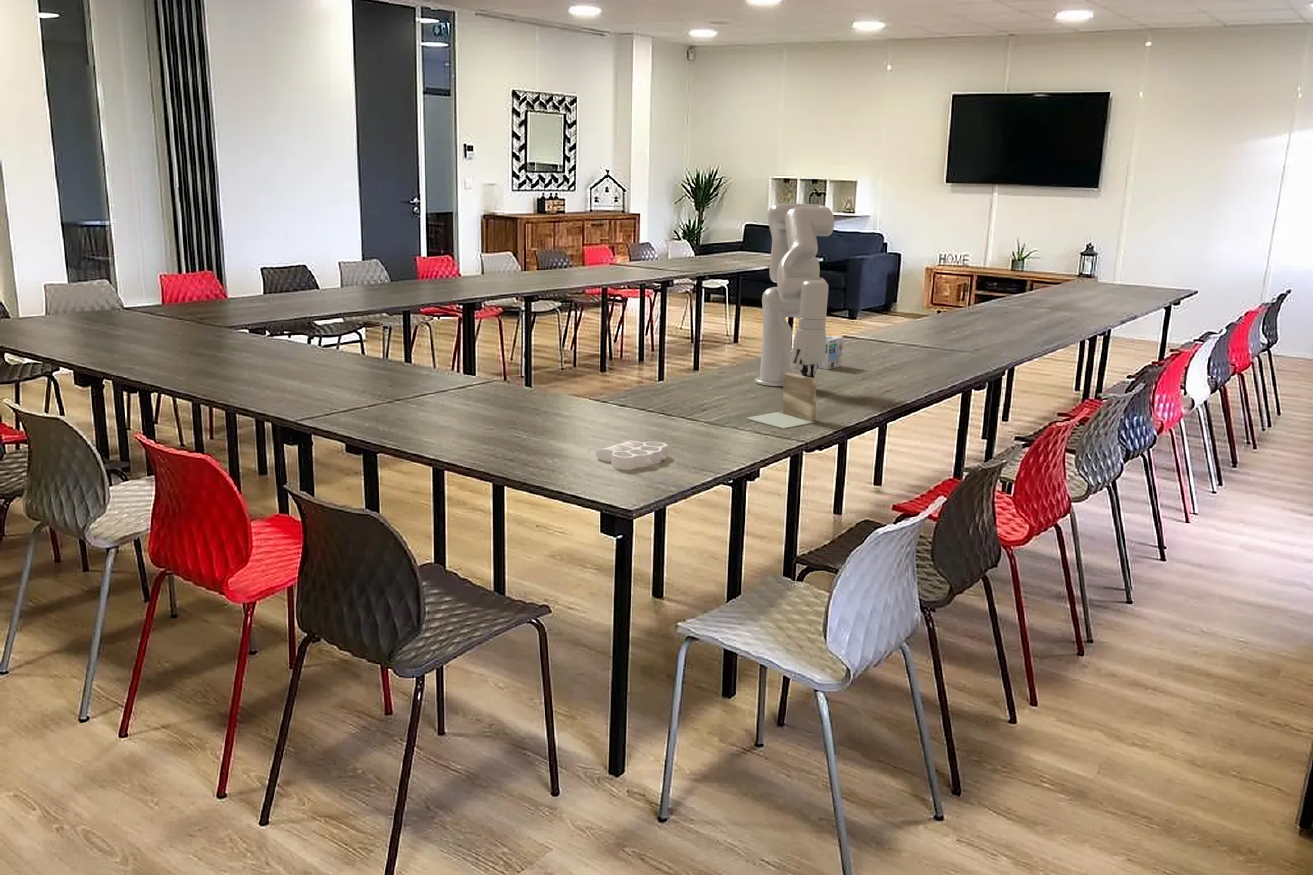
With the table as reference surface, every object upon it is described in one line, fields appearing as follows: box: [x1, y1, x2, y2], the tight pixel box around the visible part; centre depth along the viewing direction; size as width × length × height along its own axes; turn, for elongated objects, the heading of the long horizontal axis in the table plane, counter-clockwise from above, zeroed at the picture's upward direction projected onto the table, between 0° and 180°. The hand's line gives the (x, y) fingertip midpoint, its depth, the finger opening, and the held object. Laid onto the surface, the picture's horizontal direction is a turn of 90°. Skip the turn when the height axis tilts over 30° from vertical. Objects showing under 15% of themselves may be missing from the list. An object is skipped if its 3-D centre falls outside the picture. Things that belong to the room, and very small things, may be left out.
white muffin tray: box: [595, 440, 669, 471], centre depth 253 cm, size 3×18×15 cm
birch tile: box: [782, 373, 817, 422], centre depth 302 cm, size 2×10×12 cm, turn 42°
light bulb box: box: [818, 334, 844, 370], centre depth 383 cm, size 11×7×11 cm, turn 143°
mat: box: [745, 411, 815, 430], centre depth 298 cm, size 13×14×1 cm
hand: (807, 388), depth 304 cm, fingers closed
